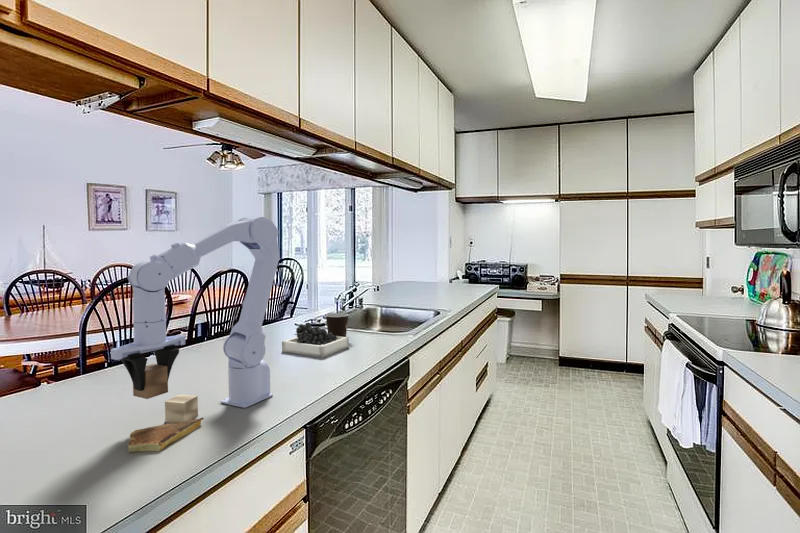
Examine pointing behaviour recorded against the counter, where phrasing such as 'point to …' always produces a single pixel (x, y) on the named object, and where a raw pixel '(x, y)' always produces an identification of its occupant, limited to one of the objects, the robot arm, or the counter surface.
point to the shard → (160, 435)
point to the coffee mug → (337, 324)
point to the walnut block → (153, 382)
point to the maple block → (181, 408)
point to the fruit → (313, 335)
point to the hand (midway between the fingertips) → (151, 386)
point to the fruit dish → (315, 347)
